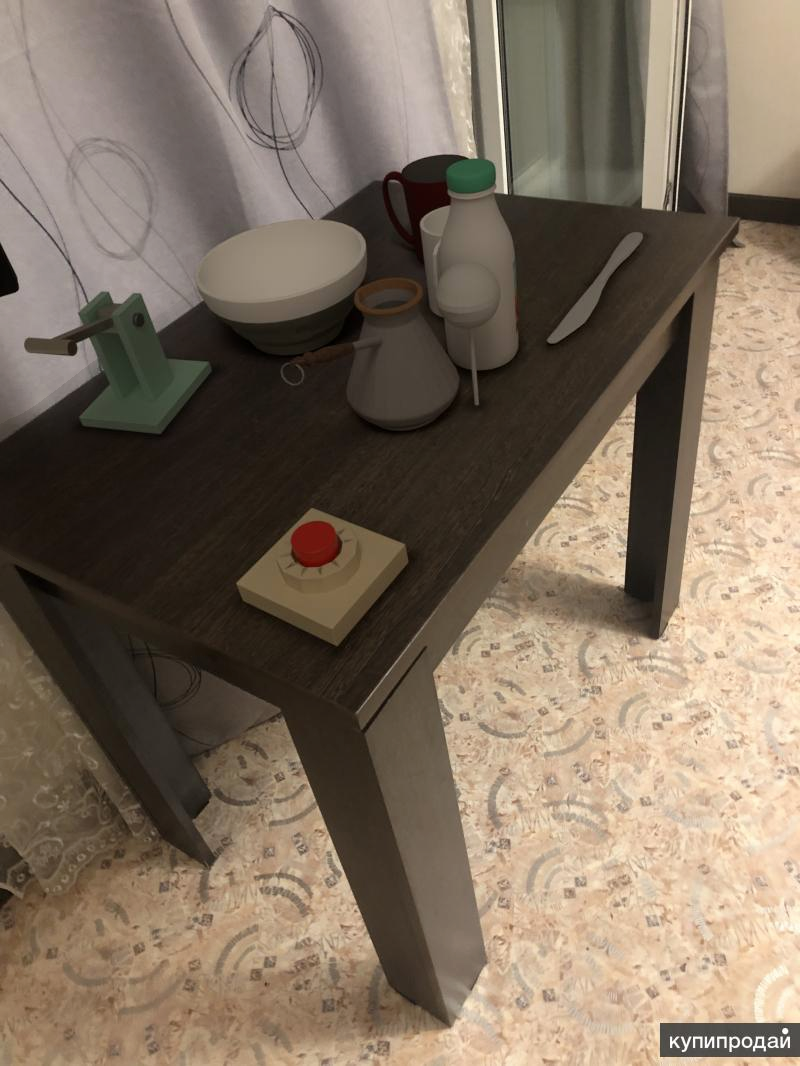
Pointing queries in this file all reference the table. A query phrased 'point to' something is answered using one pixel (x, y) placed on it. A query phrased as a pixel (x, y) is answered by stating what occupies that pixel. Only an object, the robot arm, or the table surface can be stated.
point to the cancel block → (325, 579)
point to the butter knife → (595, 289)
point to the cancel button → (315, 544)
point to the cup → (433, 250)
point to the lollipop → (468, 302)
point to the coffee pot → (393, 359)
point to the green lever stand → (137, 371)
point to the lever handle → (74, 335)
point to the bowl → (285, 283)
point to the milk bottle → (480, 262)
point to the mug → (420, 193)
